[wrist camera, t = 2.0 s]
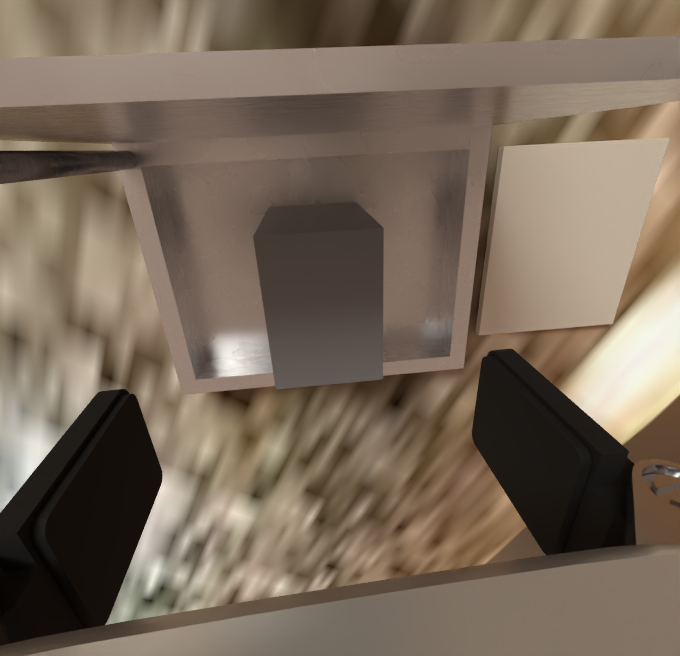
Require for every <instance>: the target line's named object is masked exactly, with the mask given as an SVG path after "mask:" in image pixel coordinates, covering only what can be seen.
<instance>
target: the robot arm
mask: <svg viewBox="0 0 680 656" xmlns="http://www.w3.org/2000/svg"><path fill="white" fill-rule="evenodd" d="M472 437H473V441H474V443H475V445H476V447H477V448H478V450H479V452H480V453H481V455H482V456H483V458H484V459H485V461H486V463H487V464H488V466H489V467H490V469H491V470H492V472H493V474H494V475H495V477H496V478H497V480H498V482H499V483H500V485H501V486H502V488H503V489H504V491H505V493H506V494H507V496H508V497H509V499H510V500H511V502H512V504H513V505H514V507H515V508H516V510H517V511H518V513H519V515H520V516H521V518H522V519H523V521H524V522H525V524H526V526H527V527H528V529H529V530H530V532H531V533H532V535H533V537H534V538H535V540H536V541H537V543H538V544H539V546H540V548H541V549H542V551H543V552H544V553H545V554H546V556H540V557H539V556H538V557H531V558H526V559H519V560H512V561H505V562H498V563H493V564H485V565H479V566H472V567H465V568H459V569H452V570H445V571H439V572H432V573H426V574H419V575H413V576H406V577H400V578H393V579H387V580H381V581H374V582H368V583H361V584H355V585H349V586H342V587H336V588H330V589H323V590H317V591H311V592H304V593H298V594H292V595H285V596H279V597H273V598H266V599H260V600H254V601H248V602H242V603H236V604H229V605H223V606H217V607H211V608H205V609H199V610H193V611H186V612H180V613H174V614H168V615H162V616H156V617H150V618H144V619H137V620H131V621H126V622H120V623H114V624H109V625H105V624H106V622H107V620H108V618H109V616H110V614H111V611H112V608H113V606H114V603H115V601H116V598H117V596H118V593H119V591H120V588H121V585H122V583H123V580H124V578H125V575H126V573H127V570H128V568H129V565H130V563H131V560H132V557H133V555H134V552H135V550H136V547H137V545H138V542H139V540H140V537H141V534H142V532H143V529H144V527H145V524H146V522H147V519H148V517H149V514H150V512H151V509H152V506H153V504H154V501H155V499H156V496H157V494H158V491H159V489H160V486H161V483H162V470H161V467H160V464H159V461H158V458H157V455H156V452H155V449H154V446H153V444H152V441H151V438H150V435H149V432H148V429H147V426H146V423H145V421H144V418H143V415H142V412H141V409H140V406H139V403H138V400H137V398H136V396H135V395H134V394H129V392H128V391H127V390H125V389H119V390H110V391H101V392H99V393H97V394H96V395H95V397H94V398H93V399H92V400H91V402H90V403H89V404H88V405H87V407H86V408H85V409H84V410H83V411H82V413H81V414H80V415H79V416H78V418H77V419H76V420H75V421H74V423H73V424H72V425H71V426H70V428H69V429H68V430H67V431H66V432H65V434H64V435H63V436H62V437H61V439H60V440H59V441H58V442H57V444H56V445H55V446H54V447H53V449H52V450H51V451H50V452H49V454H48V455H47V456H46V457H45V458H44V460H43V461H42V462H41V463H40V465H39V466H38V467H37V468H36V470H35V471H34V472H33V473H32V475H31V476H30V477H29V478H28V479H27V481H26V482H25V483H24V484H23V486H22V487H21V488H20V489H19V491H18V492H17V493H16V494H15V496H14V497H13V498H12V499H11V500H10V502H9V503H8V504H7V505H6V507H5V508H4V509H3V510H2V512H1V513H0V656H680V465H679V464H676V463H673V462H669V461H664V460H657V459H647V460H643V461H639V462H638V463H636V464H634V463H633V462H631V461H630V460H629V459H628V458H627V455H628V453H629V451H628V450H627V449H626V448H624V446H622V445H621V444H620V443H619V442H618V441H617V440H616V439H614V438H613V437H612V436H611V435H610V434H609V433H608V432H607V431H605V430H604V429H603V428H602V427H601V426H600V425H599V424H597V423H596V422H595V421H594V420H593V419H592V418H591V417H589V416H588V415H587V414H586V413H585V412H584V411H583V410H581V409H580V408H579V407H578V406H577V405H576V404H575V403H574V402H572V401H571V400H570V399H569V398H568V397H567V396H566V395H564V394H563V393H562V392H561V391H560V390H559V389H558V388H556V387H555V386H554V385H553V384H552V383H551V382H550V381H548V380H547V379H546V378H545V377H544V376H543V375H542V374H540V373H539V372H538V371H537V370H536V369H535V368H534V367H533V366H531V365H530V364H529V363H528V362H527V361H526V360H525V359H523V358H522V357H521V356H520V355H519V354H518V353H517V352H515V351H514V350H513V349H503V350H494V351H490V352H489V353H488V355H487V356H486V357H483V359H482V363H481V370H480V377H479V385H478V392H477V399H476V407H475V414H474V421H473V429H472Z"/></svg>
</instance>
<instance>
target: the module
mask: <svg viewBox="0 0 680 656" xmlns="http://www.w3.org/2000/svg"><path fill="white" fill-rule="evenodd" d="M253 240H254V247H255V254H256V261H257V267H258V274H259V281H260V287H261V294H262V301H263V308H264V314H265V321H266V328H267V335H268V341H269V348H270V355H271V361H272V368H273V375H274V382H275V388H276V390H277V389H288V388H299V387H309V386H320V385H330V384H341V383H351V382H362V381H372V380H383V266H384V228H383V227H382V226H381V225H380V224H379V223H378V222H377V221H376V220H375V219H374V218H373V217H372V216H370V215H369V214H368V213H367V212H366V211H365V210H364V209H363V208H362V207H361V206H360V205H359V204H357V203H356V202H345V203H329V204H312V205H296V206H280V207H269V208H268V210H267V212H266V213H265V215H264V217H263V219H262V221H261V223H260V224H259V226H258V228H257V230H256V232H255V234H254V235H253Z"/></svg>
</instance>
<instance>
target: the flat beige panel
mask: <svg viewBox="0 0 680 656" xmlns="http://www.w3.org/2000/svg"><path fill="white" fill-rule="evenodd" d="M668 141H669V138H650V139H631V140H612V141H593V142H574V143H555V144H536V145H518V146H499V150H498V158H497V166H496V173H495V181H494V189H493V197H492V205H491V213H490V221H489V228H488V236H487V244H486V252H485V260H484V268H483V275H482V283H481V291H480V299H479V307H478V315H477V323H476V330H475V332H476V333H477V334H478V335H479V336H480V335H491V334H503V333H514V332H525V331H536V330H548V329H559V328H570V327H582V326H593V325H604V324H613V321H614V318H615V315H616V311H617V308H618V305H619V302H620V298H621V295H622V292H623V288H624V285H625V282H626V279H627V275H628V272H629V269H630V266H631V262H632V259H633V256H634V253H635V249H636V246H637V243H638V239H639V236H640V233H641V230H642V226H643V223H644V220H645V217H646V213H647V210H648V207H649V204H650V200H651V197H652V194H653V190H654V187H655V184H656V181H657V177H658V174H659V171H660V168H661V164H662V161H663V158H664V155H665V151H666V148H667V145H668Z"/></svg>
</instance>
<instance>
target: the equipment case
mask: <svg viewBox="0 0 680 656" xmlns="http://www.w3.org/2000/svg"><path fill="white" fill-rule="evenodd" d="M675 101H680V36H663V37H632V38H602V39H572V40H542V41H512V42H482V43H451V44H421V45H391V46H361V47H331V48H301V49H271V50H240V51H210V52H180V53H150V54H120V55H90V56H59V57H29V58H0V140H12V141H41V142H71V143H100V144H112V147H113V150H114V151H0V184H5V183H14V182H23V181H31V180H40V179H49V178H58V177H67V176H76V175H85V174H94V173H102V172H111V171H119V172H120V175H121V179H122V182H123V186H124V189H125V193H126V196H127V200H128V203H129V207H130V210H131V214H132V217H133V221H134V224H135V228H136V231H137V235H138V238H139V242H140V246H141V249H142V253H143V256H144V260H145V263H146V267H147V270H148V274H149V277H150V281H151V284H152V288H153V291H154V295H155V298H156V302H157V305H158V309H159V312H160V316H161V320H162V323H163V327H164V330H165V334H166V337H167V341H168V344H169V348H170V351H171V355H172V358H173V362H174V365H175V369H176V372H177V376H178V379H179V383H180V386H181V390H182V394H183V395H185V394H195V393H206V392H216V391H227V390H238V389H248V388H259V387H269V386H275V382H274V375H273V368H272V361H271V355H270V348H269V341H268V335H267V328H266V321H265V314H264V308H263V301H262V294H261V287H260V281H259V274H258V267H257V261H256V254H255V247H254V240H253V235H254V234H255V232H256V230H257V228H258V226H259V224H260V223H261V221H262V219H263V217H264V215H265V213H266V212H267V210H268V208H269V207H280V206H296V205H312V204H329V203H345V202H356V203H357V204H359V205H360V206H361V207H362V208H363V209H364V210H365V211H366V212H367V213H368V214H369V215H370V216H372V217H373V218H374V219H375V220H376V221H377V222H378V223H379V224H380V225H381V226H382V227H383V228H384V266H383V376H386V375H397V374H407V373H418V372H429V371H439V370H450V369H460V368H464V360H465V351H466V343H467V334H468V326H469V317H470V309H471V300H472V292H473V283H474V275H475V266H476V258H477V249H478V241H479V232H480V223H481V215H482V206H483V198H484V189H485V181H486V172H487V164H488V155H489V147H490V138H491V130H492V125H498V124H506V123H514V122H521V121H529V120H537V119H544V118H552V117H560V116H567V115H575V114H583V113H590V112H598V111H606V110H614V109H621V108H629V107H637V106H644V105H652V104H660V103H667V102H675Z"/></svg>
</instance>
